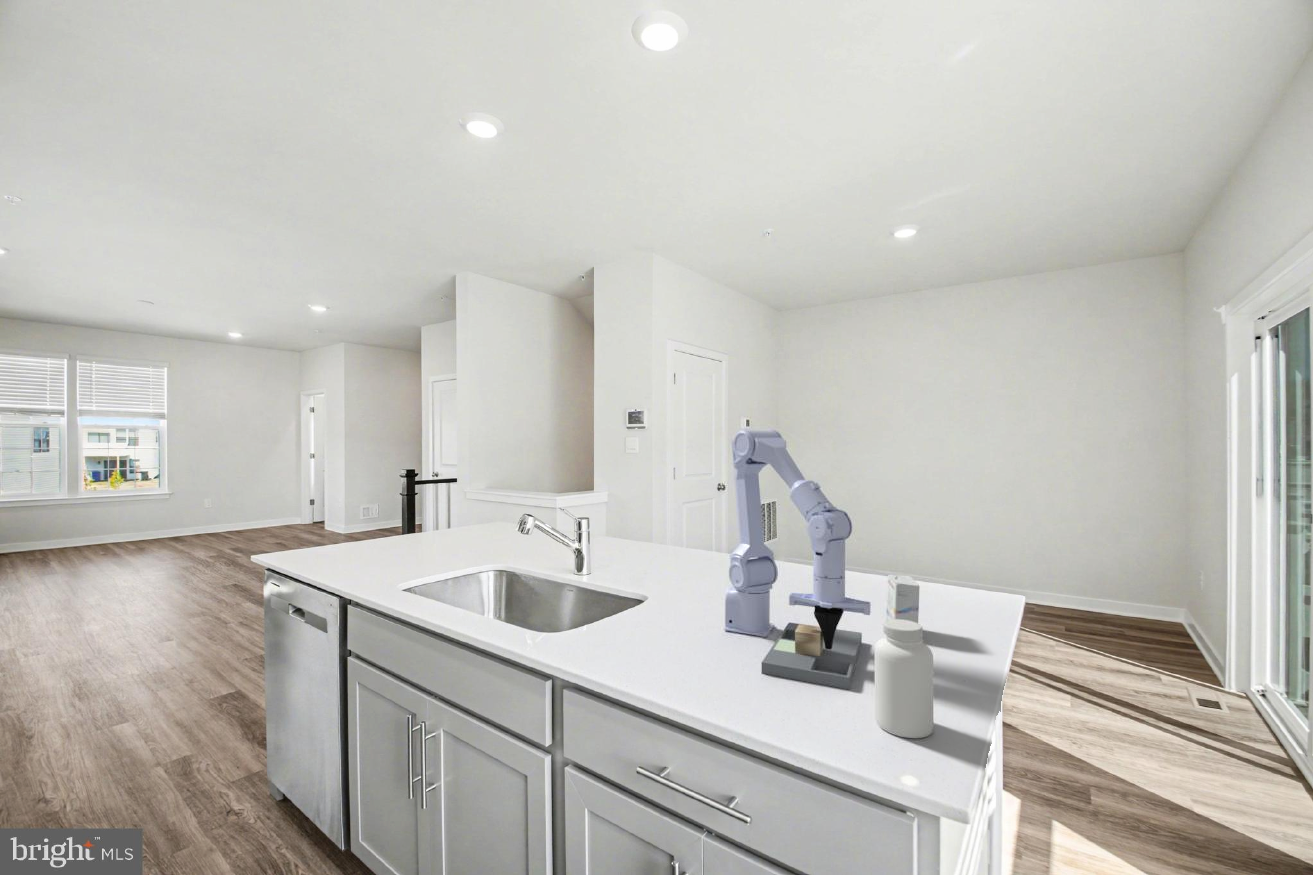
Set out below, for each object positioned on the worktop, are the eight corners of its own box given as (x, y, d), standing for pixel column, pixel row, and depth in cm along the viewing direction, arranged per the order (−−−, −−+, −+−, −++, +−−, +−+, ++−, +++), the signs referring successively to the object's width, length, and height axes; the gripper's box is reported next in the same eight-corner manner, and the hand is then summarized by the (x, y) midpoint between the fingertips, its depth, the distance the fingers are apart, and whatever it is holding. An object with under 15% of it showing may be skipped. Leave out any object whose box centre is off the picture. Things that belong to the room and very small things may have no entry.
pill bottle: (864, 713, 86) (865, 616, 86) (914, 711, 87) (915, 615, 87) (890, 741, 78) (891, 634, 78) (945, 739, 79) (945, 633, 79)
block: (795, 652, 105) (794, 631, 105) (799, 644, 109) (799, 624, 109) (819, 656, 103) (819, 634, 103) (823, 647, 107) (822, 627, 107)
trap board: (761, 673, 101) (761, 662, 101) (788, 631, 123) (788, 622, 123) (849, 689, 94) (849, 677, 94) (861, 642, 116) (861, 632, 116)
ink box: (885, 625, 127) (885, 573, 127) (910, 627, 126) (910, 574, 126) (893, 638, 118) (894, 583, 118) (919, 640, 117) (920, 584, 117)
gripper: (785, 575, 105) (785, 648, 105) (868, 584, 99) (868, 661, 99) (793, 567, 111) (793, 636, 111) (871, 575, 105) (871, 647, 105)
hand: (828, 647), depth 105 cm, fingers closed
